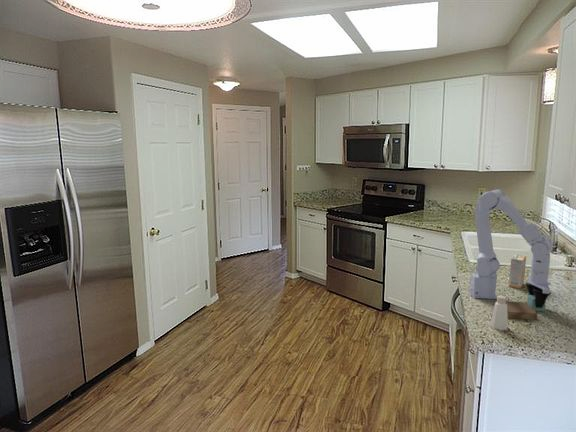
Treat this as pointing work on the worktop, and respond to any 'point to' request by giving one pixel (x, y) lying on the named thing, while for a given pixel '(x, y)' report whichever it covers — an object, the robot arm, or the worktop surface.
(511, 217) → the robot arm
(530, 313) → the walnut block
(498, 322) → the pepper shaker
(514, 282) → the supplement box
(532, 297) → the teal cube
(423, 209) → the worktop surface
